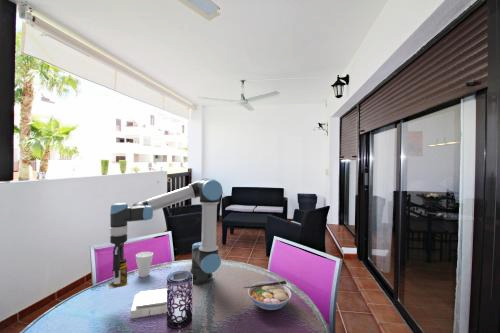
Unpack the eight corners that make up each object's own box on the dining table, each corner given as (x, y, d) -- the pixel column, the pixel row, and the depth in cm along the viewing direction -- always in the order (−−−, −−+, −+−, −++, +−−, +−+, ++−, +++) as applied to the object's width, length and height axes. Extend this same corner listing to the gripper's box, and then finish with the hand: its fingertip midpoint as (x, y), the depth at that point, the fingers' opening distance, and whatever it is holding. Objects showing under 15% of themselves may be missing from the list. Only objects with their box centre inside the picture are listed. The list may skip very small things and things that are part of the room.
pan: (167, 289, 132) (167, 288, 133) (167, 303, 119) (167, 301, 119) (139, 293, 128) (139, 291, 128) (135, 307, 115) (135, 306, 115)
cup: (149, 270, 167) (149, 250, 167) (154, 275, 159) (155, 254, 159) (132, 274, 160) (133, 253, 160) (138, 280, 152) (138, 258, 152)
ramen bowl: (252, 322, 113) (252, 304, 113) (240, 297, 135) (241, 282, 135) (300, 315, 120) (301, 298, 120) (282, 292, 142) (282, 278, 142)
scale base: (171, 296, 134) (171, 288, 134) (171, 313, 118) (171, 305, 118) (135, 300, 128) (135, 293, 129) (130, 319, 112) (130, 310, 113)
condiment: (128, 285, 121) (128, 261, 121) (109, 289, 116) (109, 264, 116) (126, 279, 127) (127, 256, 127) (108, 283, 122) (108, 259, 122)
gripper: (114, 230, 130) (114, 273, 130) (105, 240, 111) (105, 290, 111) (130, 229, 132) (129, 271, 132) (123, 239, 114) (123, 288, 114)
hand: (118, 280), depth 122 cm, fingers closed on condiment, 6 cm apart
